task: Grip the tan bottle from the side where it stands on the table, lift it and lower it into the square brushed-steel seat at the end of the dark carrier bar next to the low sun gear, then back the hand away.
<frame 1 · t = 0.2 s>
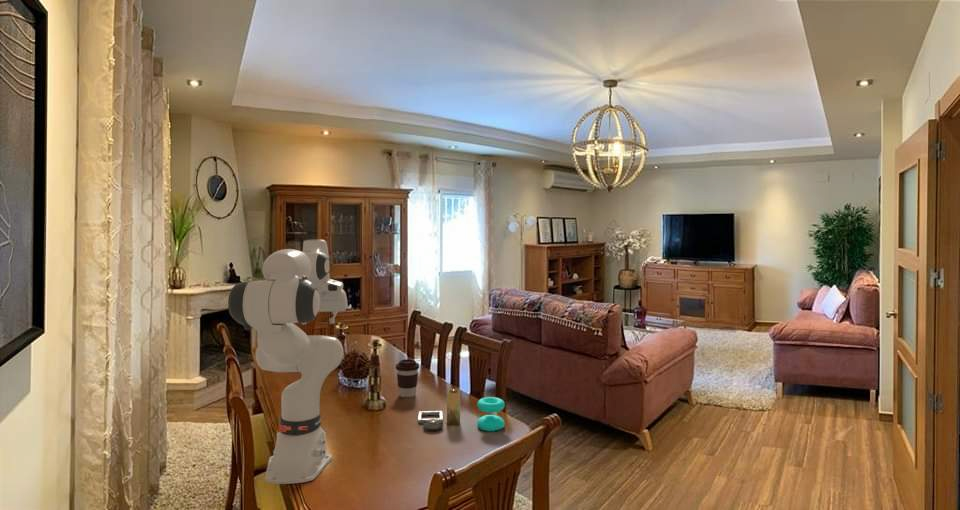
hand: (318, 323, 183), 38 cm above the table, tool pointing down, fingers open, 8 cm apart
carrier: (433, 427, 189), on the table
donuts: (490, 427, 190), on the table
ring seat: (430, 418, 198), on the table
coffee cup: (407, 395, 225), on the table
tan bottle: (453, 423, 194), on the table
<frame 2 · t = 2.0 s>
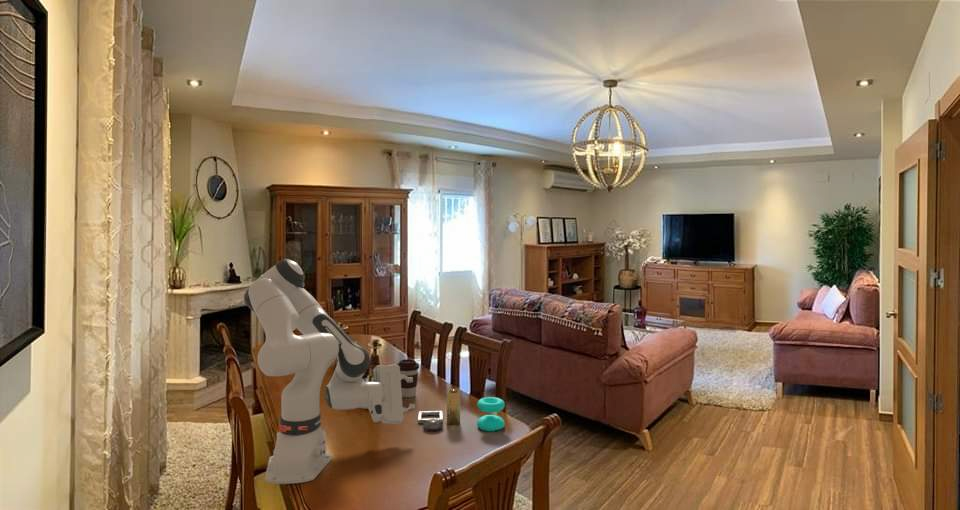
hand: (413, 392, 184), 14 cm above the table, tool horizontal, fingers open, 8 cm apart
nothing on the table moved.
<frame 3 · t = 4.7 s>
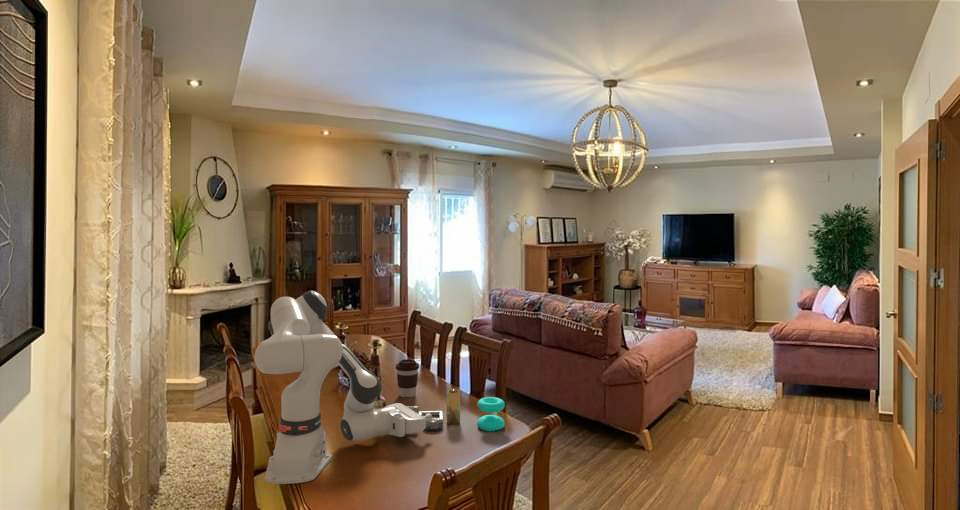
hand: (424, 412, 186), 7 cm above the table, tool horizontal, fingers open, 8 cm apart
nothing on the table moved.
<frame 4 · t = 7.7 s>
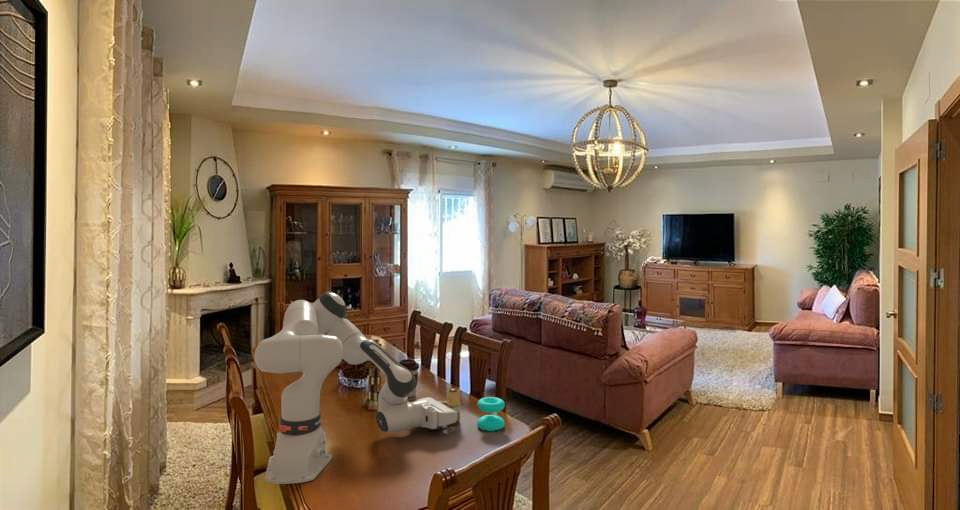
hand: (454, 406, 194), 6 cm above the table, tool horizontal, fingers open, 5 cm apart
tan bottle: (453, 423, 194), on the table, touching gripper
everything else where it was.
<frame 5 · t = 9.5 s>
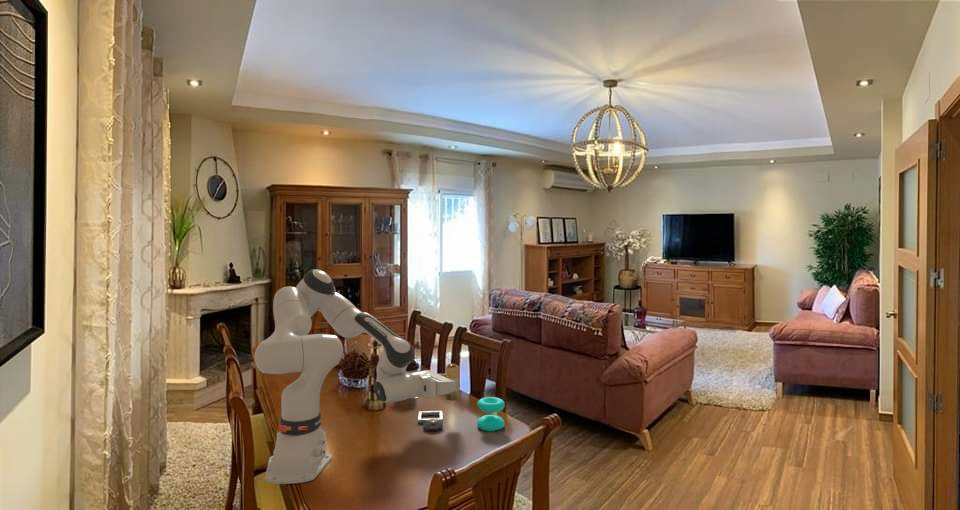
hand: (452, 377, 193), 17 cm above the table, tool horizontal, fingers closed on tan bottle, 5 cm apart
tan bottle: (452, 398, 194), point 9 cm above the table, touching gripper
everything else where it was.
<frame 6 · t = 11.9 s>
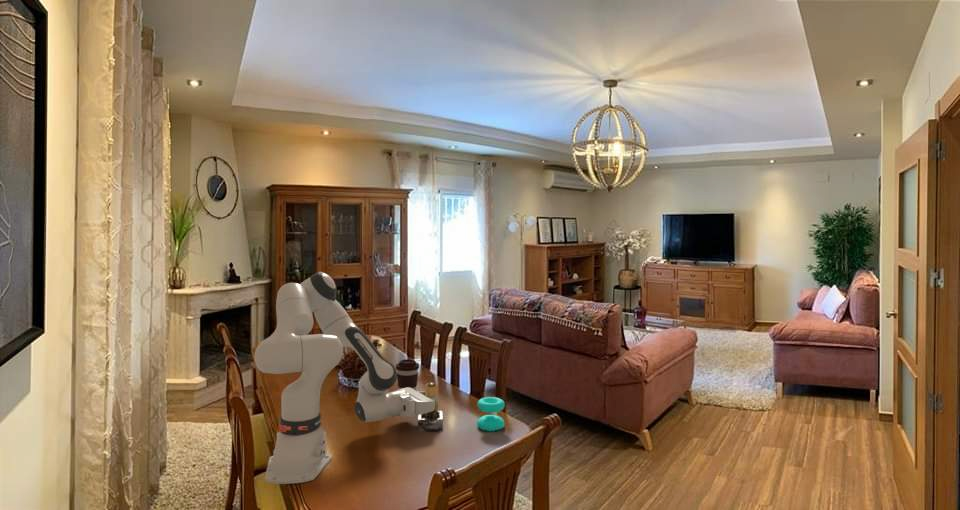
hand: (432, 395, 198), 9 cm above the table, tool horizontal, fingers closed on tan bottle, 5 cm apart
tan bottle: (431, 414, 199), point 1 cm above the table, tilted 7°, touching gripper, ring seat
everything else where it was.
when the fingers open (9 cm above the table, at t = 12.1 s): tan bottle stays where it is, resting on carrier, ring seat.
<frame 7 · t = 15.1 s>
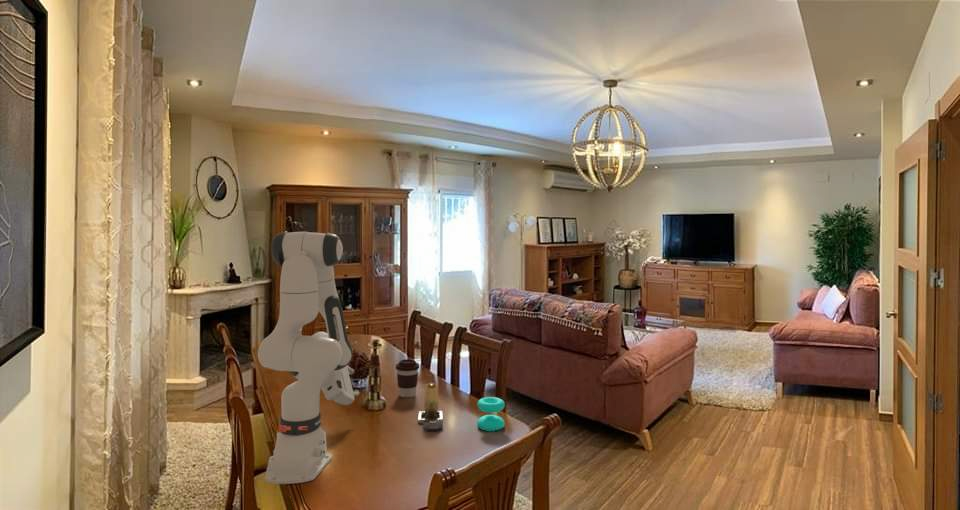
hand: (355, 382, 200), 13 cm above the table, tool tilted 65°, fingers open, 8 cm apart
tan bottle: (431, 415, 199), point 1 cm above the table, tilted 9°, touching carrier, ring seat
everything else where it was.
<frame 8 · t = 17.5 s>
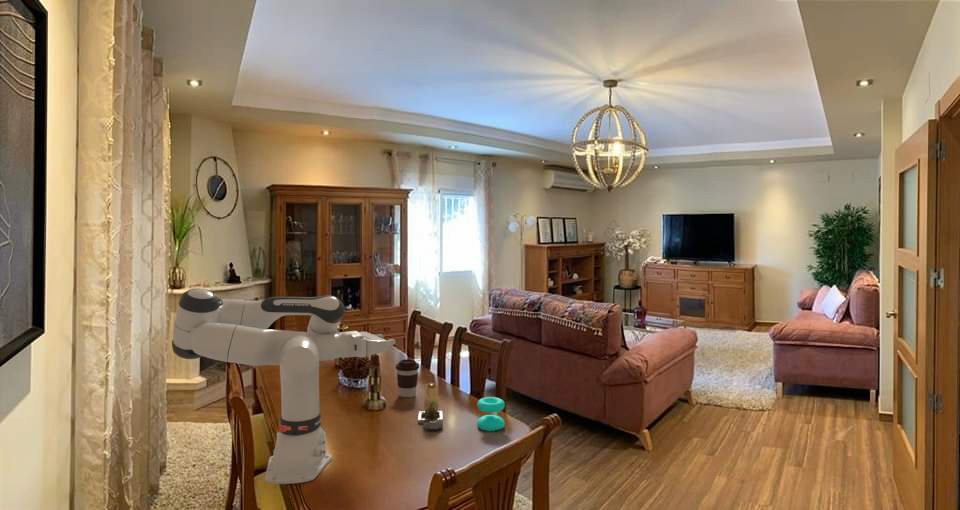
hand: (388, 339, 189), 32 cm above the table, tool horizontal, fingers open, 8 cm apart
nothing on the table moved.
at the end: tan bottle 1.1 cm off-centre on the ring seat, point 1.0 cm above the ring seat's base; tan bottle tilted 9°; the gripper is holding nothing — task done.
